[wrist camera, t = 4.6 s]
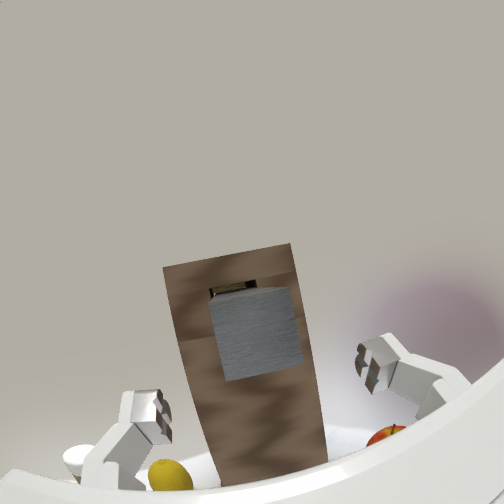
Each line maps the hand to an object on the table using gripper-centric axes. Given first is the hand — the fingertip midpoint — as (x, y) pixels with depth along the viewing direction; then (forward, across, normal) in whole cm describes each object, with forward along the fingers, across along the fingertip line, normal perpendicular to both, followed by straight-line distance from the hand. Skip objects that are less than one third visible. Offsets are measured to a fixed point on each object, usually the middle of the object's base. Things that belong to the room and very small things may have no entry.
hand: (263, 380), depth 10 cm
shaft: (+10, 0, +6) cm, 12 cm away
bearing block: (+2, 0, +28) cm, 28 cm away
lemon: (+4, +13, +30) cm, 33 cm away
